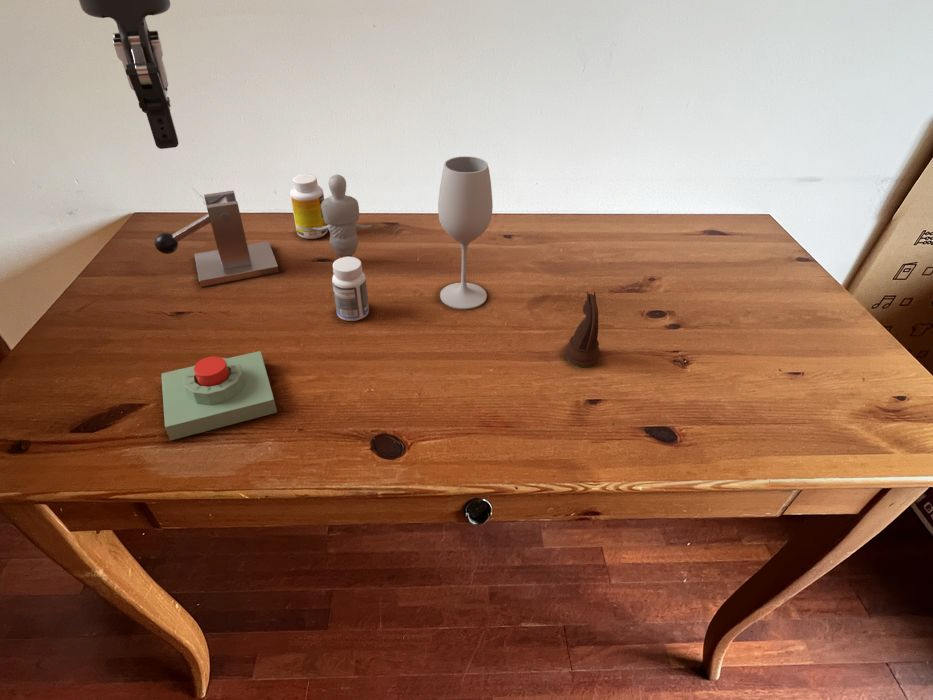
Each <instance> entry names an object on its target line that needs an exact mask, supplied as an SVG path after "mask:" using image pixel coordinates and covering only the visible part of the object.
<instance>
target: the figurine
mask: <svg viewBox="0 0 933 700" xmlns="http://www.w3.org/2000/svg"><path fill="white" fill-rule="evenodd" d="M327 185H328V189H329V191H330V194H331V196H328V197H326V198H324V200H323V201H322V204H321V208H322V215H323V218H324V221H325V222H326V223H327V226H324V227H321V228H312V229H313V230H315V231H326V230H328V231H329V243H328V244H329V246H330V247H331V248H332V249H333V252H334V253H335V254H336V255H337V256H338V257H339V258H342V257H353V255H354V254H356V252H357V248H358V246H359V244H360V243H359V242H360V241H359V237H358V235H357V234H358V232H357V230H368V229H370V228H372V227H373V225H372V224H368V225H364V224H358V223H357V222H358V221H359V219H360V206H359V201H358V200H357V199H356V198H355V197H353V196H350V195H346V191H347V181H346V179H345V177H344V176H342V175H341V174H333V175H331V176H330V177H329V178H328V184H327Z"/></svg>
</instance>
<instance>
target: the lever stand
mask: <svg viewBox="0 0 933 700" xmlns="http://www.w3.org/2000/svg"><path fill="white" fill-rule="evenodd" d="M203 197H204V201H205V206H206V210H207V214H209V218H210V222H211V223H210V225H211V228H212V233H213V237H214V241H215V244H216V248H217V249H214V250H210V251H208V250H207V251H203V252H197V253H194V260H195V265H196V271H197V277H198V282H199V286H200V287H201V288H203V287H209V286H215V285H219V284H224V283H229V282H235V281H240V280H246V279H251V278H256V277H261V276H267V275H273V274H278V273H280V270H279V264H278V262H277V259H276V257H275V254H274V252H273V249H272V247H271V244H270V241H269V240H266V241H262V242H255V243H249V244H248V242H247V238H246V234H245V229H244V225H243V220H242V215H241V212H240V211H241V210H240V206H239V203H238V201H237V197H236V194H235V190H227V191H220V192H212V193H207V194H203ZM223 197H226V198H227V199H228V200H229V201H230V202H225V203H218V204H213V203H215V202H217V201H218V200H220V199H222V198H223Z"/></svg>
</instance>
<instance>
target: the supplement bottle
mask: <svg viewBox="0 0 933 700" xmlns="http://www.w3.org/2000/svg"><path fill="white" fill-rule="evenodd" d="M292 183H293V187H292V188H291V190H290V192H289V194H290V200H291V206H292V213H293V218H294V219H293V220H294V226H295V230H296V231H295V232H296V234H297V235H298V236H299V237H300V238H303V239H306V240H315V239H320V238H322V237H324V236H325V235H326V234H327V233H328V231H329V230H326V231H315V230H313V229H312V228H321V227H324V226H327V225H328V224H327V223H326V222H325V221H324V218H323V215H322V208H321V204H322V201H323V200H324V199H325V194H324V190H323V188H322V187H321V186H319V182H318V178H317V176H316V175H314V174H310V173H302V174H298V175H296V176H294V177H293V178H292Z"/></svg>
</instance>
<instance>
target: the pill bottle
mask: <svg viewBox="0 0 933 700" xmlns="http://www.w3.org/2000/svg"><path fill="white" fill-rule="evenodd" d="M362 266H363V265H362V261H361V260H360V259H359V258H357V257H355V256H352V257H349V256H343V257H342V258H340V257H339V258H338V259H335V260H334V261H333V263H332V272H333V275H332V278H331V283H332V284H331V285H332V291H333V296H334V297H333V298H334V304H335V311H336V315H337V316H338V318H339V319H341V320H343V321H346V322H356V321H359V320H362V319H364V318H365V317H367V316H368V314H369V312H370V306H369V296H368V287H367V278H366V275H365V273H364V271H363V267H362Z"/></svg>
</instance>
